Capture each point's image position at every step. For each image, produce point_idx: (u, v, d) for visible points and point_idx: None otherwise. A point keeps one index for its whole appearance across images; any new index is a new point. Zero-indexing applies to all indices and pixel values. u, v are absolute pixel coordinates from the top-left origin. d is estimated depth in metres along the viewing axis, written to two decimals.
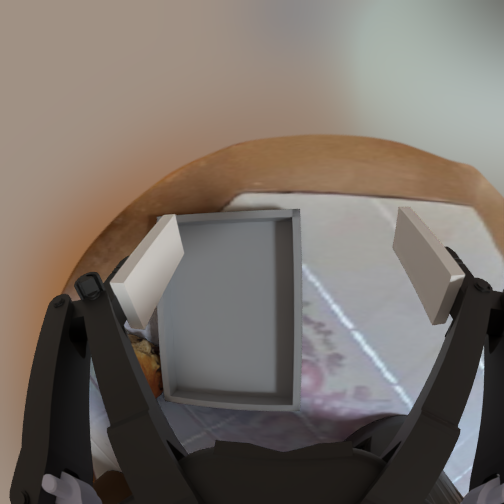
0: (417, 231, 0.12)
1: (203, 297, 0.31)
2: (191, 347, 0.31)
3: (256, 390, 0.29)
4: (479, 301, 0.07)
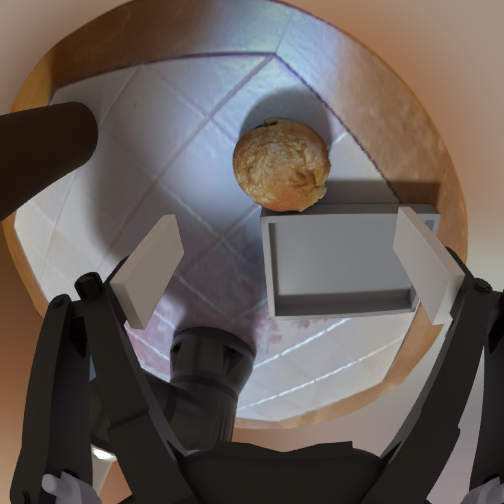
0: (417, 231, 0.12)
1: (365, 241, 0.33)
2: (319, 230, 0.33)
3: (280, 282, 0.37)
4: (479, 301, 0.07)
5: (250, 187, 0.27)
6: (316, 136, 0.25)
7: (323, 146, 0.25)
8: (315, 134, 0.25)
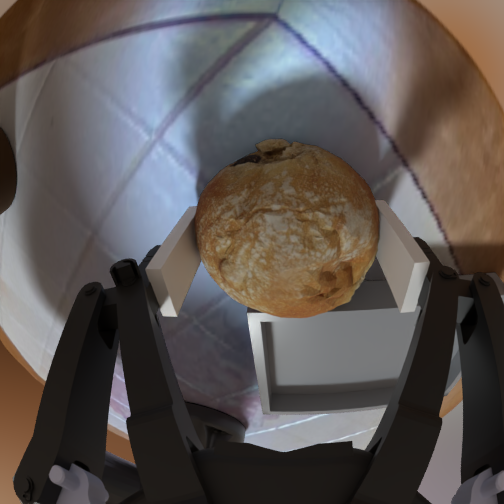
0: (387, 222, 0.13)
1: (404, 329, 0.20)
2: (340, 319, 0.20)
3: (278, 374, 0.25)
4: (446, 288, 0.08)
5: (227, 287, 0.14)
6: (363, 189, 0.12)
7: (374, 209, 0.12)
8: (361, 184, 0.12)
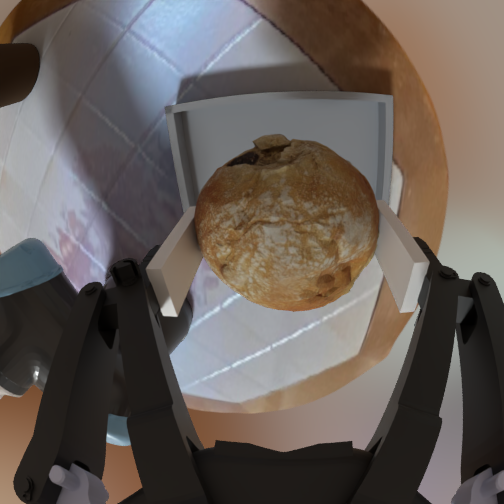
0: (386, 222, 0.13)
1: (300, 137, 0.26)
2: (238, 124, 0.26)
3: None
4: (446, 288, 0.08)
5: (230, 285, 0.15)
6: (364, 194, 0.11)
7: (374, 211, 0.12)
8: (362, 188, 0.11)
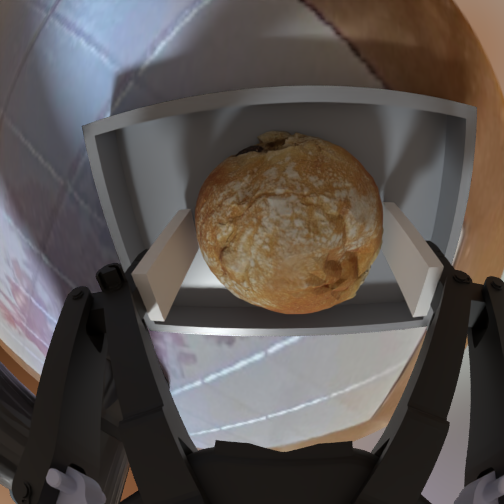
0: (398, 225, 0.12)
1: None
2: (207, 148, 0.15)
3: None
4: (459, 292, 0.08)
5: (228, 280, 0.14)
6: (367, 177, 0.11)
7: (378, 197, 0.12)
8: (364, 172, 0.12)
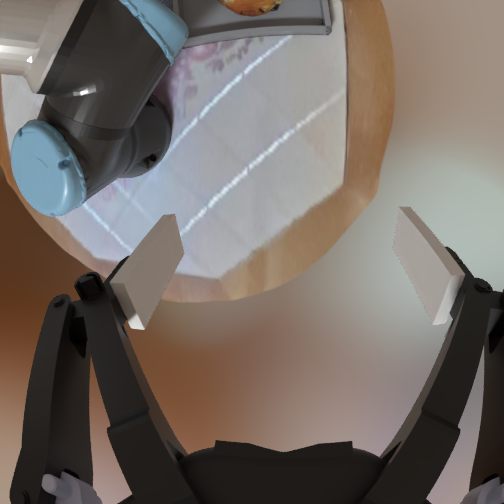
0: (417, 231, 0.12)
1: None
2: None
3: (189, 18, 0.29)
4: (479, 301, 0.07)
5: None
6: None
7: None
8: None
